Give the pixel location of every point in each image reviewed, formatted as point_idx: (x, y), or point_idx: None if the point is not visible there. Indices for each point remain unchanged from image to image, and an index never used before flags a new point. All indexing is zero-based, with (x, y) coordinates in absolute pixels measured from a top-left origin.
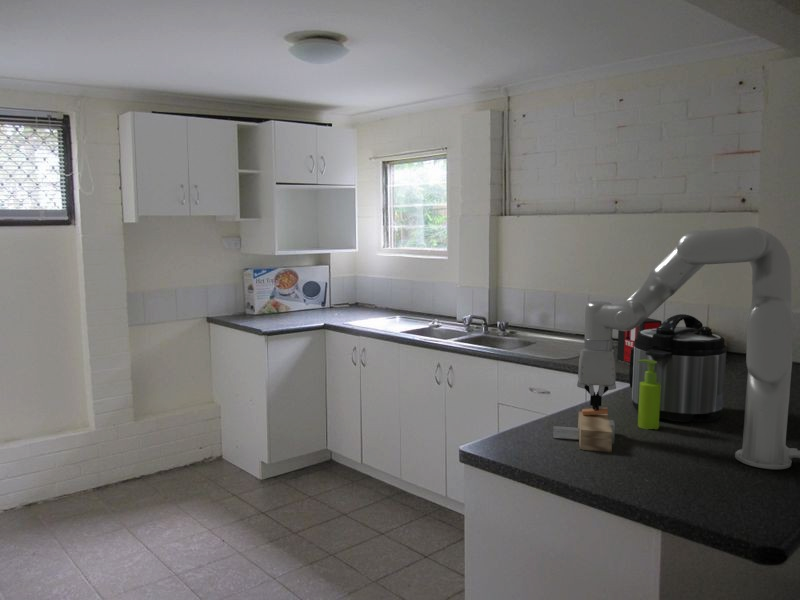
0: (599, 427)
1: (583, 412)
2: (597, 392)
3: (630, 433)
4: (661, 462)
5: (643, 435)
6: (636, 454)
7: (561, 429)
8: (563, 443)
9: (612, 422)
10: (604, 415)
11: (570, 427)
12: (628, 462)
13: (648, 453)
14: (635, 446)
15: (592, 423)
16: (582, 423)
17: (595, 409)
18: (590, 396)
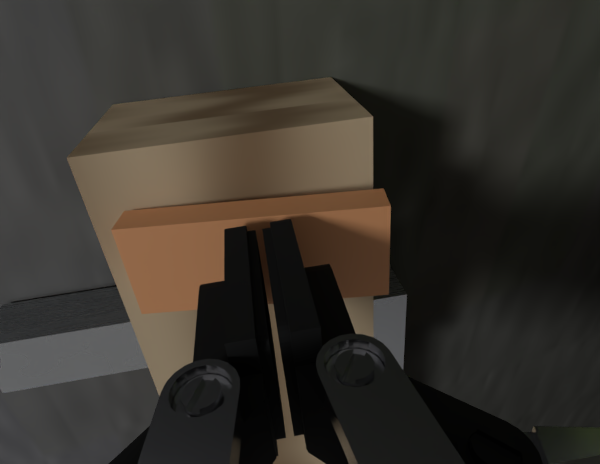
0: (306, 457)
1: (153, 306)
2: (309, 421)
3: (497, 60)
4: (519, 410)
5: (572, 76)
6: (447, 377)
7: (56, 383)
8: (112, 384)
9: (392, 350)
10: None
11: (99, 333)
12: None
13: (500, 349)
14: (466, 291)
15: None
16: None
17: (264, 260)
18: (195, 358)
